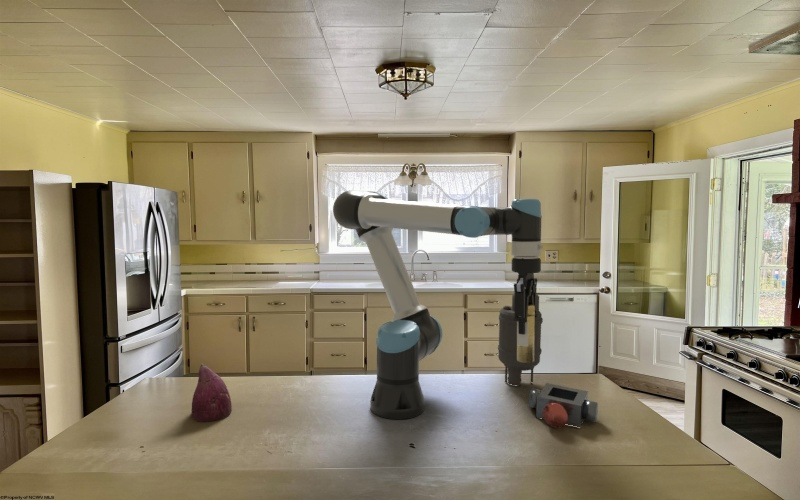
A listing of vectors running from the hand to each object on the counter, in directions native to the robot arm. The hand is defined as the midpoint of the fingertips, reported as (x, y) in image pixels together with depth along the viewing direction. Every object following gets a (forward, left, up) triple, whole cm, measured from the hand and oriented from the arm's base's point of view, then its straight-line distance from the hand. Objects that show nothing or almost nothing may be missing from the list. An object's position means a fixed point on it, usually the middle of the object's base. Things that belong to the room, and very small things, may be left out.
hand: (525, 343), depth 120 cm
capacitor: (-8, +21, -20) cm, 30 cm away
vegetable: (-71, -46, -20) cm, 87 cm away
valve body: (+9, +2, -19) cm, 22 cm away
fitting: (0, 0, -5) cm, 5 cm away
